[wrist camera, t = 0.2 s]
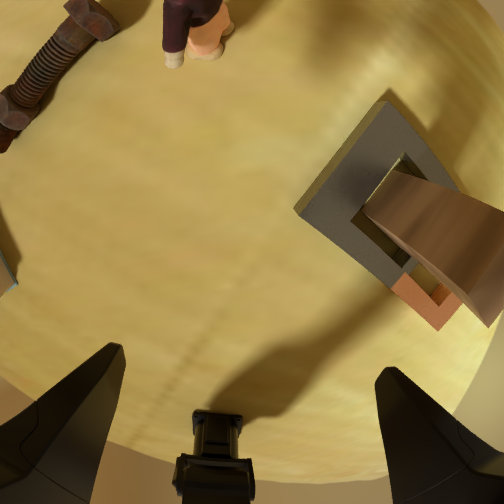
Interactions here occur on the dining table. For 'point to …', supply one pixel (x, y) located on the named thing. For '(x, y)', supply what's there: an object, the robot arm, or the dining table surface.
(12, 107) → the bolt
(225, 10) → the grandmother figurine
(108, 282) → the dining table surface
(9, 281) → the book
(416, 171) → the grey-tan flat frame piece
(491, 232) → the walnut post
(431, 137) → the dining table surface
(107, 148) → the dining table surface
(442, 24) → the dining table surface
